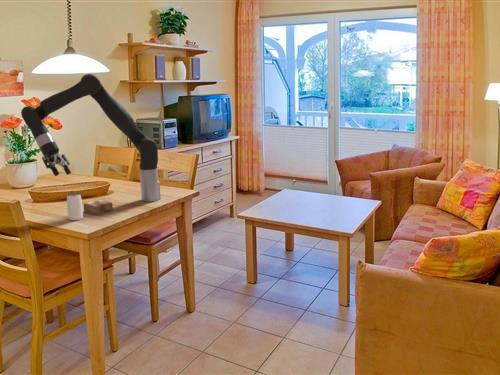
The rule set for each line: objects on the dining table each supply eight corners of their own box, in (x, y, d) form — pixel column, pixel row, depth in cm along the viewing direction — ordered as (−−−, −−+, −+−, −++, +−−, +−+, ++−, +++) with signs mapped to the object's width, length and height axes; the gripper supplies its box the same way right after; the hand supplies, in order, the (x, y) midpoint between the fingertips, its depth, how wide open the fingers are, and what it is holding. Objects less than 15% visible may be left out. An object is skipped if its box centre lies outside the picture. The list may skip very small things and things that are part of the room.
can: (85, 216, 231) (82, 192, 228) (80, 220, 225) (78, 195, 222) (71, 216, 231) (68, 192, 228) (66, 220, 225) (64, 196, 222)
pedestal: (101, 207, 247) (100, 199, 246) (113, 210, 241) (112, 202, 240) (84, 211, 240) (83, 203, 239) (95, 215, 233) (94, 206, 232)
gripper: (42, 140, 220) (59, 171, 219) (62, 140, 234) (78, 169, 233) (31, 149, 222) (47, 179, 221) (51, 148, 236) (67, 177, 235)
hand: (63, 174), depth 227 cm, fingers open, 8 cm apart
